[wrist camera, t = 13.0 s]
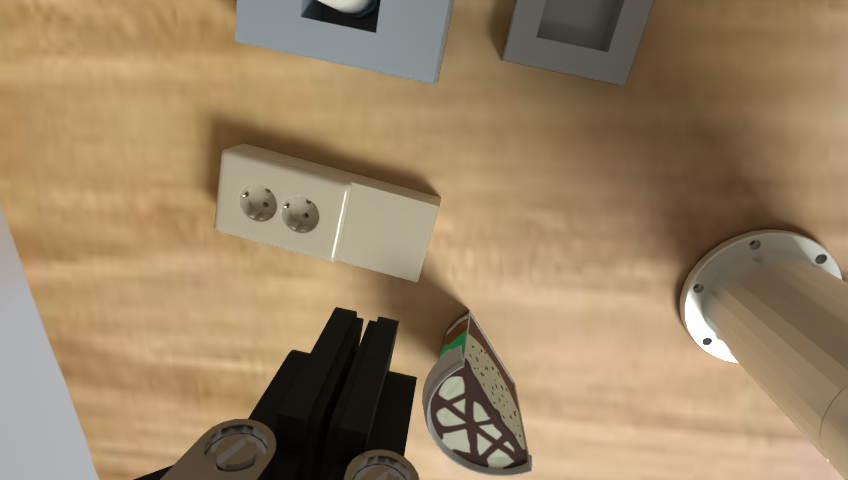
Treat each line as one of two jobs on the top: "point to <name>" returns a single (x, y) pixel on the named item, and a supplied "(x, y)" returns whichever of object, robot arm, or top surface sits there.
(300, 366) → the robot arm
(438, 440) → the food container
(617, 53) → the grey square socket base
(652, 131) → the top surface
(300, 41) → the port block
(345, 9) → the plug
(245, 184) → the electrical outlet
